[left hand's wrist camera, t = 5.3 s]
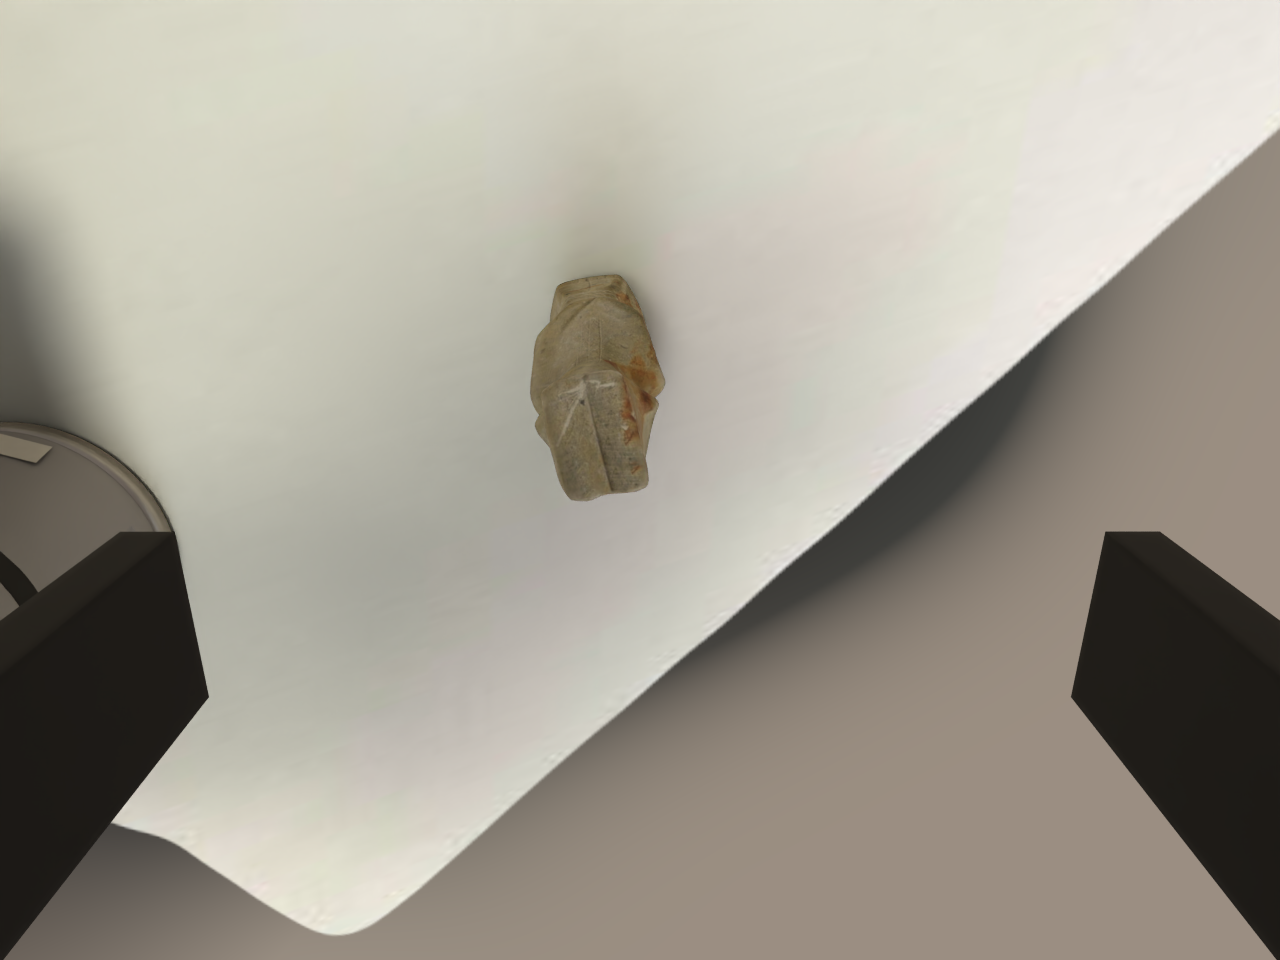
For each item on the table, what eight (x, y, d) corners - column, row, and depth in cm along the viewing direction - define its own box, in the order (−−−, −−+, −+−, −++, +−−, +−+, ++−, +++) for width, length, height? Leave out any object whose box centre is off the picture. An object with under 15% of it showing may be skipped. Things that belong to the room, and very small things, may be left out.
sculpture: (560, 410, 47) (527, 521, 33) (538, 276, 45) (492, 335, 31) (667, 397, 47) (678, 504, 33) (651, 261, 45) (657, 315, 31)
